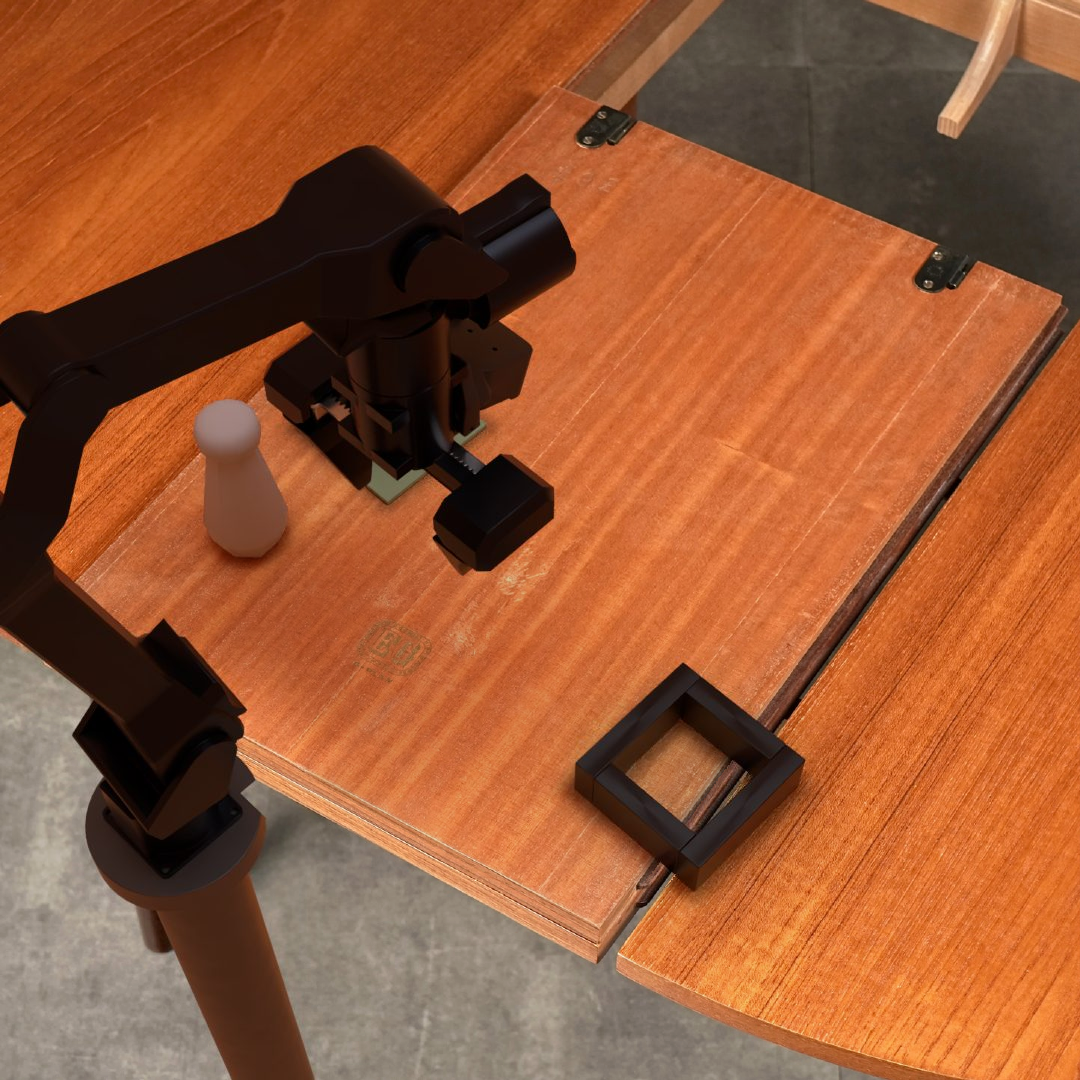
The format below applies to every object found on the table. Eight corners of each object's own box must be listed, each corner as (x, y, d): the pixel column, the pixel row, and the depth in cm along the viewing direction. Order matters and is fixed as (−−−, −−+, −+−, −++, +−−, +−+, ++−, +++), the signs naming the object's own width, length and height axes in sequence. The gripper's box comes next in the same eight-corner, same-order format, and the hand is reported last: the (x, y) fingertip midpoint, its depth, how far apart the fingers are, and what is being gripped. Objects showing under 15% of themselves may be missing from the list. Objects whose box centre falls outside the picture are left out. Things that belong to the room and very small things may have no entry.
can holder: (694, 892, 104) (699, 868, 101) (573, 788, 108) (574, 762, 105) (799, 785, 108) (806, 759, 106) (679, 688, 113) (683, 661, 110)
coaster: (388, 505, 121) (387, 501, 121) (295, 429, 125) (294, 425, 125) (487, 427, 125) (486, 423, 125) (394, 355, 129) (393, 352, 129)
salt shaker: (196, 559, 118) (164, 442, 108) (225, 495, 122) (196, 376, 111) (276, 576, 118) (252, 460, 107) (302, 511, 121) (281, 393, 110)
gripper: (627, 368, 91) (615, 536, 104) (389, 197, 98) (405, 374, 111) (480, 486, 86) (486, 648, 99) (241, 298, 94) (275, 471, 106)
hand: (414, 526), depth 104 cm, fingers open, 9 cm apart
